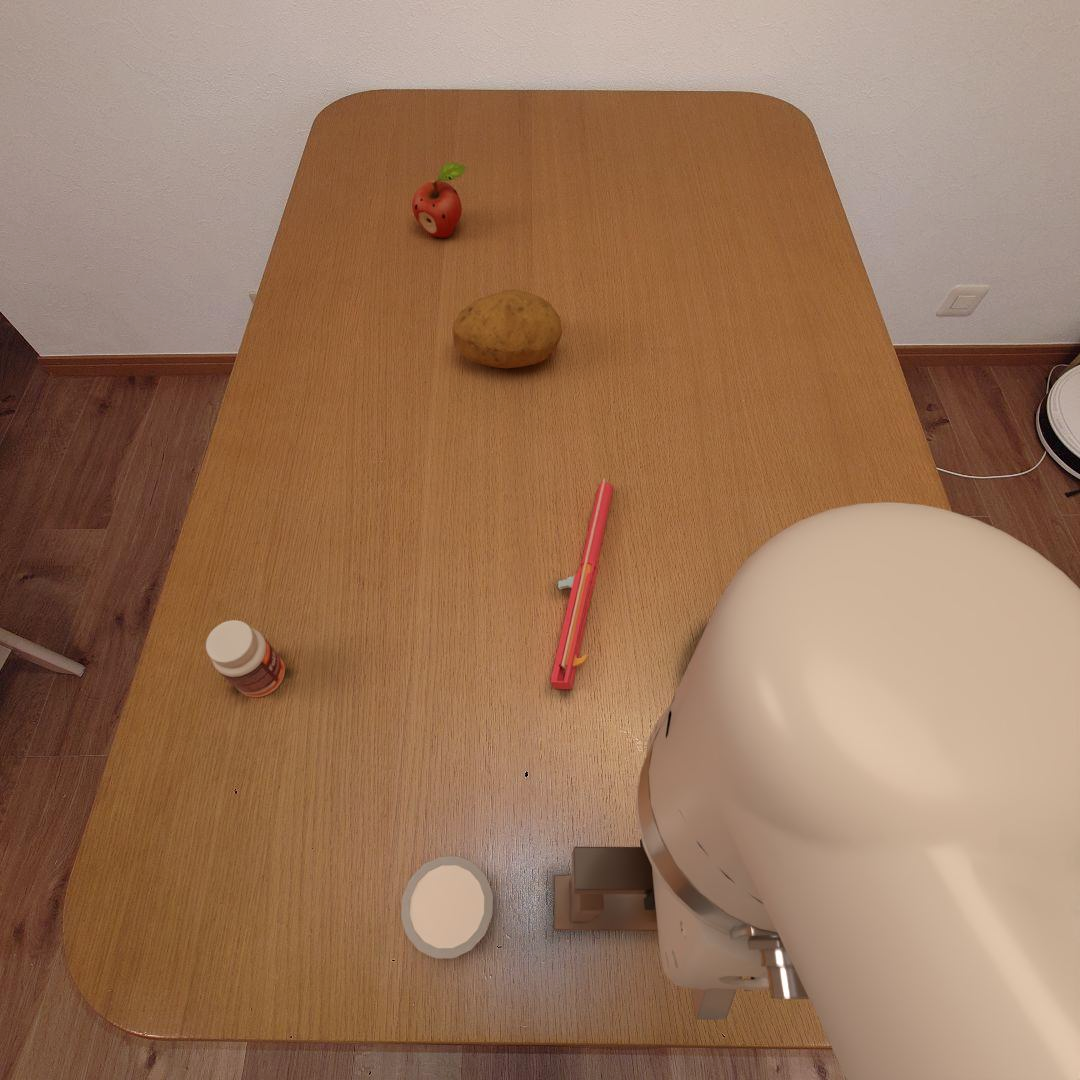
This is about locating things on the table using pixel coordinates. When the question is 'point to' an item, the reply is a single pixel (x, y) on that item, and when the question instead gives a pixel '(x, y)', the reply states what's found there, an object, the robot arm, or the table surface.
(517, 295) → the potato
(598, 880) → the dark brown bar
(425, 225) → the apple
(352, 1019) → the table surface
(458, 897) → the beige cylinder
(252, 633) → the pill bottle
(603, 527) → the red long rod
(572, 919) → the rest
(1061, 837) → the robot arm
